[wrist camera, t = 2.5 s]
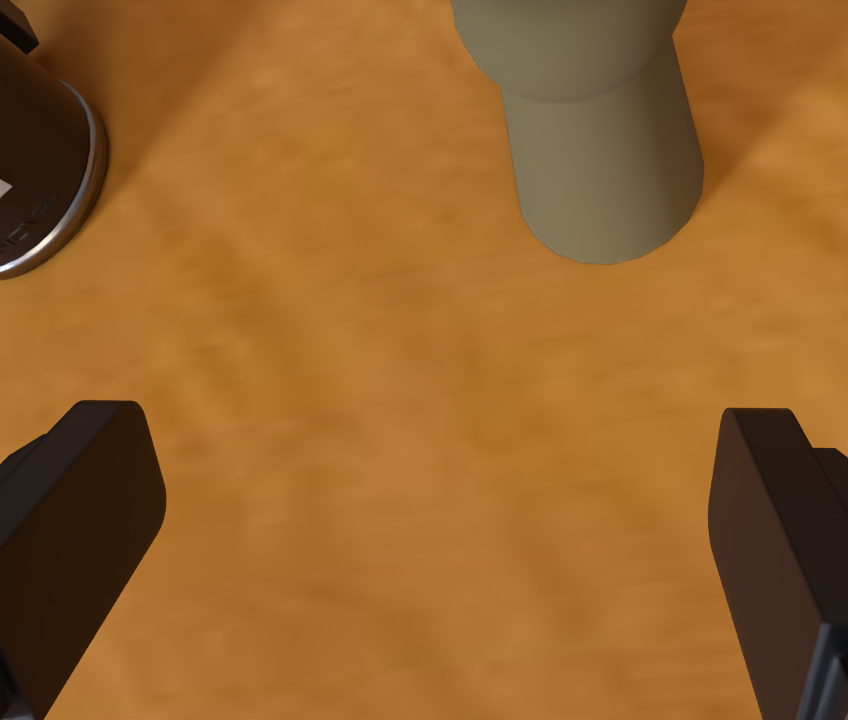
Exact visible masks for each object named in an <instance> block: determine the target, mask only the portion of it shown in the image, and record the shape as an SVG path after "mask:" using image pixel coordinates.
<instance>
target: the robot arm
mask: <svg viewBox="0 0 848 720" xmlns="http://www.w3.org/2000/svg"><path fill="white" fill-rule="evenodd" d="M38 45H39V41H38V39H37V37H36V35H35V33H34V32H33V30H32V28H31V26H30V24H29V22H28V20H27V18H26V16H25V14H24V13H23V12H22V11H21V10H20V9H19V8H17V7H16V6H15V5H14V4H13V3H12V2H10V1H9V0H0V280H5V279H10V278H14V277H17V276H20V275H22V274H25V273H27V272H29V271H31V270H33V269H35V268H37V267H39V266H40V265H42V264H43V263H45V262H46V261H48V260H49V259H50V258H52V257H53V256H54V255H55V254H56V253H58V252H59V251H60V250H61V249H62V248H63V247H64V246H65V245H66V244H67V243H68V242H69V241H70V240H71V238H72V237H73V236H74V235H75V234H76V232H77V231H78V230H79V228H80V227H81V226H82V224H83V223H84V221H85V219H86V218H87V216H88V215H89V213H90V211H91V209H92V207H93V205H94V203H95V201H96V199H97V196H98V194H99V191H100V188H101V185H102V182H103V178H104V174H105V169H106V162H107V139H106V133H105V128H104V125H103V122H102V120H101V117H100V115H99V113H98V112H97V110H96V108H95V107H94V106H93V105H92V103H91V102H90V101H89V100H88V99H87V98H85V97H84V96H83V95H82V94H80V93H79V92H78V91H77V90H75V89H74V88H73V87H72V86H70V85H69V84H67V83H66V82H64V81H62V80H60V79H58V78H56V77H55V76H54V75H52V74H51V73H50V72H49V71H47V70H46V69H45V68H44V67H42V66H41V65H40V64H39V63H37V62H36V61H35V60H33V59H32V58H31V57H30V56H28V55H27V54H29V53H30V52H31V51H32V50H33V49H34V48H36V47H37V46H38ZM165 511H166V489H165V484H164V481H163V477H162V474H161V470H160V467H159V463H158V460H157V456H156V452H155V449H154V445H153V442H152V438H151V435H150V431H149V427H148V424H147V420H146V417H145V414H144V411H143V410H142V408H141V406H140V405H139V404H138V403H137V402H135V401H115V400H83V401H79V402H77V403H76V404H75V405H74V406H73V407H72V408H71V409H70V410H69V411H68V412H67V413H66V414H65V415H64V416H63V417H62V418H61V419H60V420H59V421H58V422H57V423H56V424H55V425H54V427H53V428H52V429H51V430H50V431H49V432H48V433H47V434H43V435H41V436H40V437H38V438H37V439H35V440H33V441H32V442H30V443H28V444H27V445H25V446H23V447H22V448H20V449H19V450H17V451H15V452H14V453H12V454H10V455H9V456H8V457H7V458H6V459H5V460H4V461H3V462H2V463H1V464H0V720H44V718H45V716H46V715H47V713H48V711H49V710H50V708H51V707H52V705H53V703H54V702H55V700H56V698H57V697H58V695H59V694H60V692H61V690H62V689H63V687H64V685H65V684H66V682H67V680H68V679H69V677H70V676H71V674H72V672H73V671H74V669H75V667H76V666H77V664H78V663H79V661H80V659H81V658H82V656H83V654H84V653H85V651H86V649H87V648H88V646H89V645H90V643H91V641H92V640H93V638H94V636H95V635H96V633H97V632H98V630H99V628H100V627H101V625H102V623H103V622H104V620H105V618H106V617H107V615H108V614H109V612H110V610H111V609H112V607H113V605H114V604H115V602H116V601H117V599H118V597H119V596H120V594H121V592H122V591H123V589H124V587H125V586H126V584H127V583H128V581H129V579H130V578H131V576H132V574H133V573H134V571H135V570H136V568H137V566H138V565H139V563H140V561H141V560H142V558H143V556H144V555H145V553H146V552H147V550H148V548H149V547H150V545H151V543H152V542H153V540H154V539H155V537H156V535H157V534H158V532H159V530H160V528H161V526H162V523H163V520H164V516H165ZM708 529H709V538H710V544H711V549H712V553H713V556H714V559H715V563H716V566H717V569H718V573H719V576H720V579H721V583H722V586H723V589H724V593H725V596H726V599H727V602H728V606H729V609H730V612H731V616H732V619H733V622H734V626H735V629H736V632H737V636H738V639H739V642H740V646H741V649H742V652H743V656H744V659H745V662H746V666H747V669H748V672H749V676H750V679H751V682H752V686H753V689H754V692H755V696H756V699H757V702H758V705H759V709H760V712H761V715H762V719H763V720H848V458H847V457H846V456H845V455H844V454H842V453H841V452H840V451H838V450H837V449H836V448H812V446H811V444H810V443H809V441H808V439H807V437H806V435H805V434H804V432H803V430H802V428H801V426H800V425H799V423H798V421H797V419H796V417H795V416H794V414H793V412H792V411H791V410H790V409H787V408H727V409H725V411H724V413H723V415H722V419H721V423H720V429H719V436H718V443H717V450H716V456H715V463H714V470H713V477H712V483H711V490H710V497H709V505H708Z"/></svg>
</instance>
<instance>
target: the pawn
mask: <svg viewBox="0 0 848 720" xmlns="http://www.w3.org/2000/svg"><path fill="white" fill-rule="evenodd" d="M451 2H452V8H453V14H454V20H455V26H456V29H457V31H458V33H459V35H460V38H461V40H462V42H463V44H464V45H465V47H466V49H467V50H468V52H469V53H470V55H471V57H472V58H473V60H474V61H475V63H476V65H477V66H478V68H479V69H480V70H481V71H482V72H483V73H485V74H486V75H487V76H488V77H489V78H490V79H491V80H492V81H494V82H495V83H497V84H498V85H499V86H501V92H502V98H503V105H504V111H505V117H506V123H507V130H508V136H509V142H510V148H511V155H512V161H513V167H514V173H515V180H516V186H517V192H518V197H519V203H520V208H521V214H522V216H523V218H524V220H525V221H526V223H527V225H528V226H529V228H530V230H531V232H532V233H533V235H534V237H536V238H537V239H538V240H539V241H541V242H542V243H543V244H544V245H545V246H547V247H548V248H549V249H550V250H552V251H553V252H554V253H556V254H558V255H561V256H564V257H567V258H569V259H572V260H575V261H577V262H580V263H594V264H614V263H619V262H623V261H627V260H631V259H635V258H639V257H642V256H644V255H645V254H647V253H649V252H651V251H653V250H654V249H656V248H658V247H660V246H661V245H663V244H665V243H667V242H668V241H669V240H670V239H671V238H672V237H673V236H674V235H675V234H676V233H677V232H678V231H679V230H680V229H681V228H682V227H683V226H684V225H685V223H686V222H687V221H688V220H689V219H690V217H691V215H692V212H693V210H694V208H695V206H696V204H697V202H698V200H699V198H700V196H701V194H702V185H703V176H704V163H703V159H702V155H701V151H700V147H699V143H698V139H697V135H696V131H695V127H694V123H693V119H692V115H691V111H690V107H689V103H688V99H687V95H686V91H685V87H684V83H683V79H682V75H681V71H680V67H679V63H678V59H677V55H676V51H675V47H674V43H673V39H672V34H673V32H674V30H675V28H676V26H677V24H678V22H679V20H680V18H681V16H682V13H683V11H684V8H685V5H686V3H687V0H451Z"/></svg>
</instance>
